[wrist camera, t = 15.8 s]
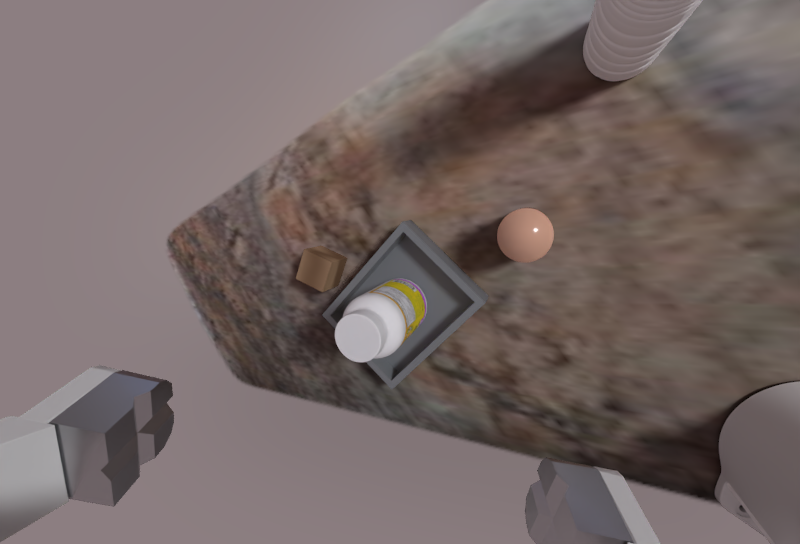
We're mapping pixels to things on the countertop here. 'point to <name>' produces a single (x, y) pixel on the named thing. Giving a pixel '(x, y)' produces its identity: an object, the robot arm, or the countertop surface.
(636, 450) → the countertop surface
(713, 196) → the countertop surface
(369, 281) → the tray
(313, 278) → the walnut block
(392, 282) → the supplement bottle
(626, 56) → the water bottle
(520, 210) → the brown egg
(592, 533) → the robot arm
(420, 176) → the countertop surface
